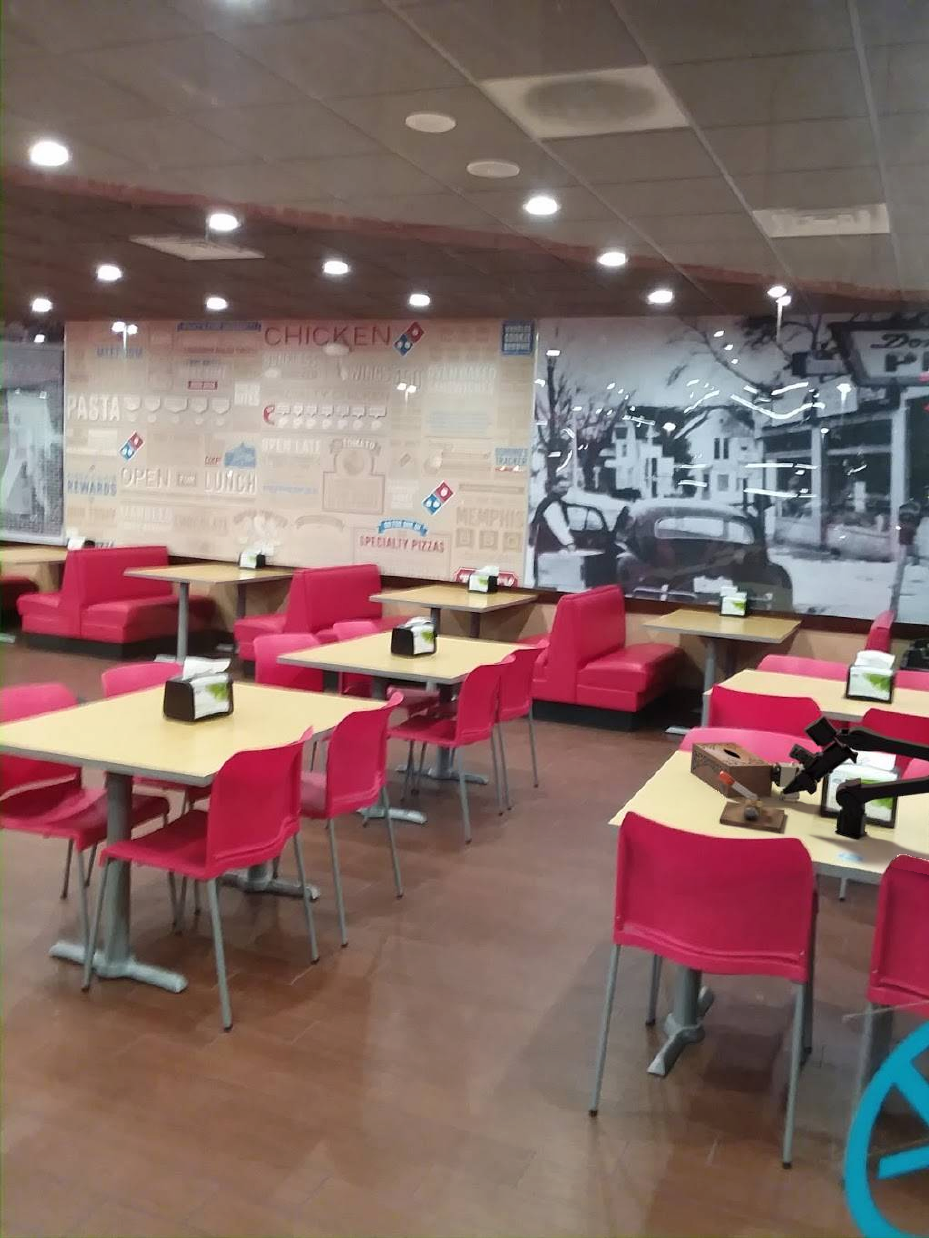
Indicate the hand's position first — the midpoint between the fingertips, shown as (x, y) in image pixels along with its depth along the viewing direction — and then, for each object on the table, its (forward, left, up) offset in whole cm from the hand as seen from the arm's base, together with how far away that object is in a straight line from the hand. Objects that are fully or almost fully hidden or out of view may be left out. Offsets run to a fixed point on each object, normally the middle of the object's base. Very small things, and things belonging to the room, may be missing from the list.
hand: (783, 792), depth 283 cm
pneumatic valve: (+8, -21, -9) cm, 24 cm away
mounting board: (+7, +3, -9) cm, 12 cm away
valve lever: (+7, +3, -3) cm, 8 cm away
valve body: (+7, +3, -9) cm, 12 cm away
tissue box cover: (+28, -21, -9) cm, 36 cm away
